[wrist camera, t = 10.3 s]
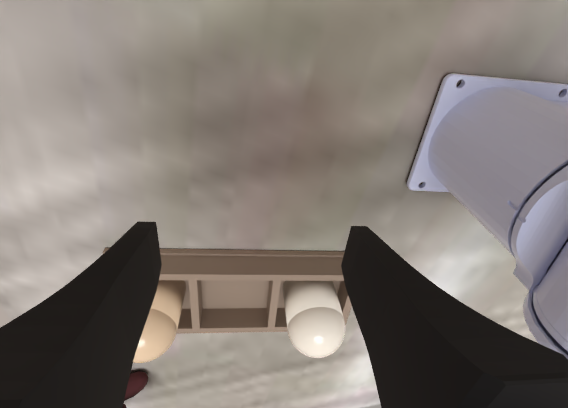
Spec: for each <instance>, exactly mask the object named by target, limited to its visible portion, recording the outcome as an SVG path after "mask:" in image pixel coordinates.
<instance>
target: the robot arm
mask: <svg viewBox="0 0 568 408" xmlns="http://www.w3.org/2000/svg"><path fill="white" fill-rule="evenodd" d="M459 80H461V84H460V85H459V86H458V87H456V84H457V82H458V81H459ZM561 90H562V92H561V93H560V91H561ZM559 93H560V94H559ZM421 182H423V183H422V184H421V185H419V184H420V183H421ZM407 187H408V188H409V189H410V190H414V191H438V192H450V193H451V194H452V195H453V196H454V197H455V198H456V199H457V200H458V201H459V202H460V203H461V204H462V205H463V206H464V207H465V208H466V209H467V210H468V211H469V212H470V213H471V214H472V215H473V216H474V217H475V218H476V219H477V220H478V221H479V222H480V223H481V224H482V225H483V226H484V227H485V228H486V229H487V230H488V231H489V232H490V233H491V234H492V235H493V236H494V237H495V238H496V239H497V240H498V241H499V242H500V243H501V244H502V245H503V246H504V247H505V248H506V249H507V250H508V251H509V252H510V253H511V254H512V255H513V256H514V257H515V258H516V268H515V270H514V272H513V274H514V275H515V276H516V277H517V278H518V279H519V280H520V281H521V282H522V283H523V285H524V286H525V287H526V288H527V289H528V290H529V293H528V294H527V296H526V297H525V300H524V304H523V313H524V317H525V321H526V323H527V325H528V327H529V329H530V331H531V333H532V334H533V336H534V337H535V339H536V340H537V342H538V343H536V342H534V341H532V340H530V339H527V338H525V337H523V336H521V335H519V334H517V333H515V332H513V331H511V330H509V329H507V328H505V327H503V326H501V325H499V324H497V323H496V322H494V321H492V320H490V319H488V318H486V317H485V316H483V315H481V314H480V313H478V312H476V311H475V310H473V309H471V308H469V307H468V306H466V305H464V304H463V303H461V302H460V301H458V300H457V299H455V298H454V297H452V296H451V295H449V294H448V293H446V292H445V291H443V290H442V289H440V288H439V287H438V286H436V285H435V284H433V283H432V282H431V281H429V280H428V279H427V278H426V277H424V276H423V275H422V274H421V273H419V272H418V271H417V270H416V269H414V268H413V267H412V266H411V265H410V264H408V263H407V262H406V261H405V260H404V259H403V258H401V257H400V256H399V255H398V254H397V253H396V252H395V251H394V250H392V249H391V248H390V247H389V246H388V245H387V244H386V243H385V242H384V241H383V240H381V239H380V238H379V237H378V236H377V235H376V234H375V233H374V232H373V231H372V230H370V229H369V228H368V227H367V226H351V230H350V234H349V237H348V241H347V245H346V249H345V252H344V256H343V260H342V264H341V268H342V273H343V278H344V282H345V287H346V290H347V293H348V296H349V299H350V302H351V304H352V307H353V310H354V313H355V315H356V318H357V321H358V324H359V326H360V329H361V332H362V335H363V337H364V340H365V343H366V346H367V350H368V353H369V357H370V361H371V365H372V369H373V373H374V377H375V381H376V385H377V390H378V394H379V398H380V403H381V407H382V408H568V84H561V83H551V82H540V81H530V80H519V79H508V78H498V77H487V76H477V75H466V74H455V73H451V74H448V75H447V76H446V77H445V78H444V79H443V81H442V84H441V86H440V89H439V92H438V95H437V98H436V101H435V104H434V106H433V109H432V112H431V115H430V118H429V121H428V124H427V126H426V129H425V132H424V135H423V138H422V141H421V144H420V146H419V149H418V152H417V155H416V158H415V161H414V164H413V166H412V169H411V172H410V175H409V178H408V181H407ZM161 266H162V263H161V255H160V248H159V241H158V234H157V226H156V222H137V223H136V224H135V225H134V226H133V227H132V228H130V229H129V230H128V231H127V232H126V233H125V234H124V235H123V236H122V237H121V238H120V239H119V240H118V241H117V242H116V243H115V244H114V245H113V246H112V247H111V248H109V249H108V250H107V251H106V252H105V253H104V254H103V255H102V256H101V257H100V258H98V259H97V260H96V261H95V262H94V263H93V264H92V265H90V266H89V267H88V268H87V269H86V270H84V271H83V272H82V273H81V274H80V275H78V276H77V277H76V278H75V279H73V280H72V281H71V282H70V283H68V284H67V285H66V286H64V287H63V288H62V289H60V290H59V291H57V292H56V293H54V294H53V295H52V296H50V297H49V298H47V299H46V300H44V301H43V302H41V303H40V304H38V305H37V306H35V307H34V308H32V309H30V310H29V311H27V312H25V313H24V314H22V315H21V316H19V317H17V318H16V319H14V320H12V321H11V322H9V323H8V324H6V325H4V326H3V327H1V328H0V408H123V403H124V399H125V394H126V389H127V385H128V381H129V377H130V372H131V368H132V364H133V360H134V356H135V353H136V350H137V347H138V344H139V341H140V338H141V335H142V332H143V329H144V326H145V323H146V320H147V318H148V315H149V312H150V309H151V306H152V303H153V300H154V297H155V294H156V291H157V286H158V282H159V277H160V272H161Z"/></svg>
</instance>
